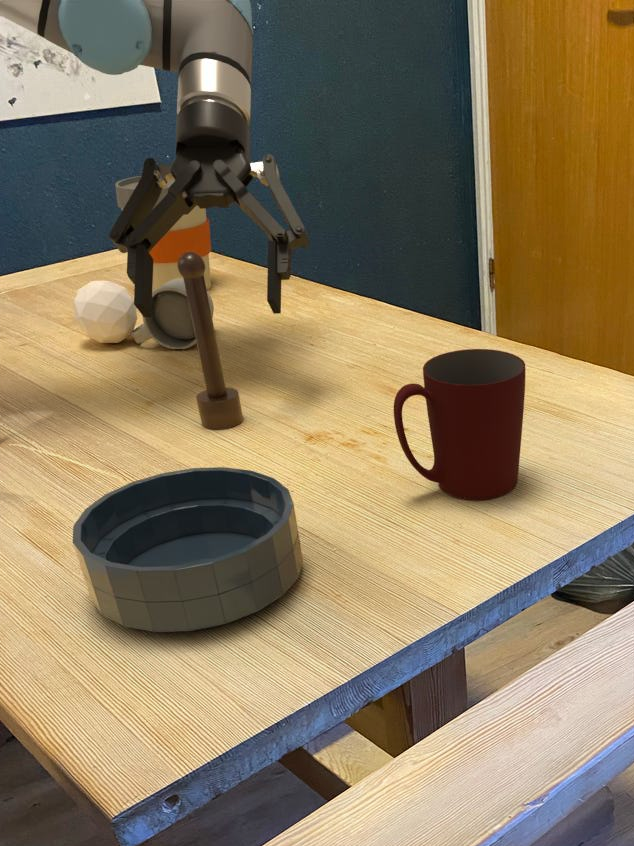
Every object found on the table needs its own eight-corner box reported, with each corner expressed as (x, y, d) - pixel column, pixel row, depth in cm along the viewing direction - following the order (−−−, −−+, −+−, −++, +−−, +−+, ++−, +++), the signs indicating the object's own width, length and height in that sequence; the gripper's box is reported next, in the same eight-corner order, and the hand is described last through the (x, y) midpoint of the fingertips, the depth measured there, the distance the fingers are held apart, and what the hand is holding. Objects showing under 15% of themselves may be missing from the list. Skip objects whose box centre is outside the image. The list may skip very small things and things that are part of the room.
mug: (421, 521, 81) (412, 400, 75) (385, 481, 88) (373, 366, 81) (542, 490, 85) (544, 373, 79) (498, 454, 92) (496, 342, 85)
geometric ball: (134, 361, 124) (124, 320, 116) (72, 348, 123) (58, 306, 115) (149, 317, 127) (140, 274, 119) (88, 304, 126) (75, 260, 118)
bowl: (49, 621, 70) (24, 553, 67) (169, 520, 83) (153, 458, 79) (239, 656, 66) (223, 585, 63) (336, 544, 79) (327, 479, 75)
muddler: (193, 427, 99) (156, 257, 89) (215, 411, 103) (181, 245, 93) (230, 431, 98) (196, 259, 88) (250, 415, 102) (220, 247, 91)
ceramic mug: (221, 328, 126) (209, 269, 122) (209, 348, 120) (195, 287, 115) (143, 333, 126) (127, 274, 122) (126, 353, 120) (110, 292, 115)
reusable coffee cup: (228, 275, 148) (209, 171, 139) (215, 298, 138) (194, 187, 129) (148, 279, 148) (124, 174, 139) (129, 302, 138) (102, 191, 129)
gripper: (337, 142, 103) (335, 323, 99) (112, 149, 103) (103, 329, 100) (324, 92, 95) (321, 286, 92) (81, 100, 96) (71, 293, 92)
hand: (208, 309), depth 96 cm, fingers open, 13 cm apart
